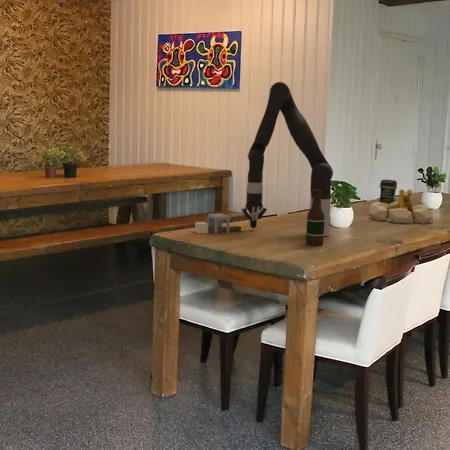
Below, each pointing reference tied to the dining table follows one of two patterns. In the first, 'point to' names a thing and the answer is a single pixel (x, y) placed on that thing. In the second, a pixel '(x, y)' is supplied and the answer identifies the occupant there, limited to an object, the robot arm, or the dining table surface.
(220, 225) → the tunnel
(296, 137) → the robot arm
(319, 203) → the beer bottle
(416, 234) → the dining table surface
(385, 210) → the campfire
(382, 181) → the coffee jar
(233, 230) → the bar
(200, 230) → the block
